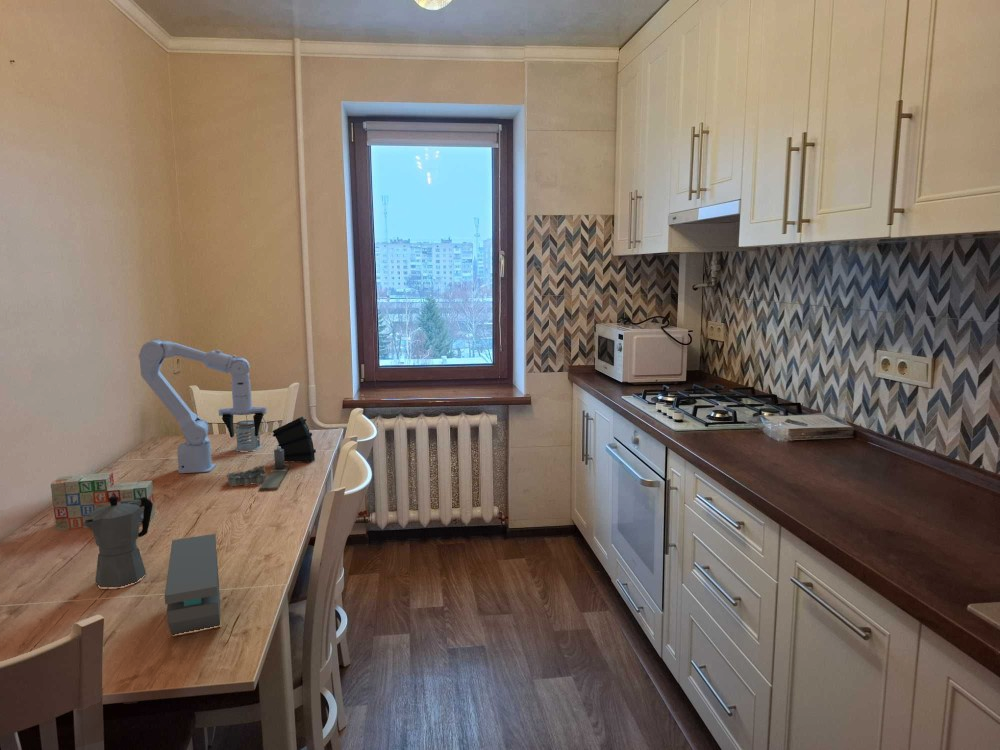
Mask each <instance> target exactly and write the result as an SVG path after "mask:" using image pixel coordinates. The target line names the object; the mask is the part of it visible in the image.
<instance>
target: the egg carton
mask: <svg viewBox="0 0 1000 750" xmlns="http://www.w3.org/2000/svg"><path fill="white" fill-rule="evenodd" d="M265 475H266V472H265V465H262V466H261V465H260V466H255V467H253V469H248V470H246V471H238V472H236V473H234V472H229V473H228V474H227V481H228V482H227V483H228V485H229V487H232V486H236V487H238V486H241V485H240V484H243V486H245V485H246V486H249V485H252V484H251V483H256V484H255V485H261V484H263V483H262V482H264V480H265V479H266V476H265ZM260 483H261V484H260ZM248 484H249V485H248ZM237 485H238V486H237Z"/></svg>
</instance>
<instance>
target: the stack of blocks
mask: <svg viewBox="0 0 1000 750" xmlns="http://www.w3.org/2000/svg"><path fill="white" fill-rule="evenodd" d="M50 490H51V499H52V506H53V514H54V521H55V522H54V523H55V530H56V531H62V530H63V531H65V530H75V529H89V528H88V527H87V526H84V525H83V523H84V521H85V520H86V519H88V518H89V517H88V514H89V513H91V512H92V511H94V510H96V509H97V508H101V507H105V506H109V505H111V504H110V501H109V498H110V497H113V496H117V497H118V501H117V504H129V502H131V501H133V500H137V499H140V498H142V497H146V498H147V499H149V500H150V501H151V502H152V503H153V507H152V512H151V517H150V519H151V518H152V519H153V518H154V516H155V515H156V510H155V501H154V500H155V496H154V487H153V481H152V480H144V481H127V482H117V483H115V481H114V473H113V472H101V473H100V472H99V473H89V474H80V475H79V474H78V475H65V476H59V477H58V478H57V479H55V480H54V481H53V482H51V483H50ZM154 514H155V515H154ZM143 518H144V506H142V507H141V508H140V521H139V522H142V521H143ZM152 519H151V520H152Z"/></svg>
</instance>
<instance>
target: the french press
mask: <svg viewBox="0 0 1000 750" xmlns="http://www.w3.org/2000/svg"><path fill="white" fill-rule="evenodd" d="M245 413H246V412H245ZM248 415H249V416H250V415H251V414H242V415H241V416H245V417H246V418H245V420H241V421H238V422H236V425H237V426H236V427H235V435H236V447H235V449H234V451H235V450H237V451H253V450H258V449H260V448H261V447H262V446H263V445H262V444H261V442H260V438H261V437H260V436H261V435H263V434H264V433H265V431H266V430H267V429H266V428H267V422H266V419H265V418H264V417H263V418H262V421H261V424H262V431H261V432H260V433H259V435H258V436H255V425H254V419H252V420H248ZM258 451H259V450H258ZM253 452H254V451H253Z"/></svg>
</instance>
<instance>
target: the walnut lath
mask: <svg viewBox="0 0 1000 750" xmlns="http://www.w3.org/2000/svg"><path fill="white" fill-rule="evenodd" d="M289 467H290V468H291V464H289V463H287V464H286V463H285V468H284V469H275V464H274V465H273V466H272V467H271V469H270V471H269V473H268V474H267V475H266V476H265V479H264V482H263V483H261V484H260V487H259V491H260V492H263V491H262V490H266V491H278V490H279V488H280V487H281V485H282V483H283V481H284V479H285V478H286V475H287V473H288V472H287V471H289V470H288V469H290V468H289ZM283 478H284V479H283ZM282 480H283V481H282ZM281 482H282V483H281ZM280 484H281V485H280ZM277 489H278V490H277Z"/></svg>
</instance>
